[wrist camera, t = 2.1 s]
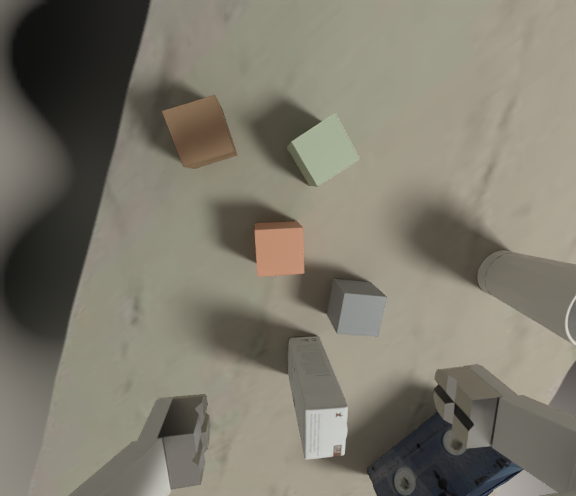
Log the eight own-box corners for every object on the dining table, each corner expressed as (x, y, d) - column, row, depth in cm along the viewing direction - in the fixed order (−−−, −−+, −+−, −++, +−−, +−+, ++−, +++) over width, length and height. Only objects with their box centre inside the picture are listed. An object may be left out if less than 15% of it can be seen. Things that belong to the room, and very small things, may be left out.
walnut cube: (177, 122, 30) (161, 111, 25) (221, 108, 30) (215, 94, 25) (194, 168, 31) (183, 166, 27) (237, 155, 32) (233, 150, 27)
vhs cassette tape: (374, 476, 45) (406, 558, 35) (363, 466, 44) (393, 546, 34) (467, 406, 43) (527, 470, 34) (458, 394, 43) (516, 457, 33)
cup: (526, 292, 40) (638, 338, 28) (472, 306, 39) (563, 358, 28) (526, 238, 38) (646, 263, 26) (470, 251, 37) (566, 283, 26)
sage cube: (286, 147, 32) (291, 141, 27) (323, 122, 32) (335, 112, 27) (309, 185, 33) (317, 186, 28) (345, 162, 33) (360, 159, 28)
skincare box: (287, 336, 37) (301, 408, 26) (321, 334, 38) (349, 404, 26) (287, 377, 39) (300, 462, 27) (320, 374, 39) (346, 457, 27)
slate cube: (333, 278, 36) (344, 293, 31) (369, 281, 37) (387, 296, 32) (326, 313, 37) (337, 333, 32) (362, 316, 38) (378, 336, 33)
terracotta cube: (255, 223, 34) (254, 230, 29) (296, 221, 34) (303, 227, 29) (257, 263, 35) (257, 276, 30) (297, 260, 35) (304, 273, 30)
